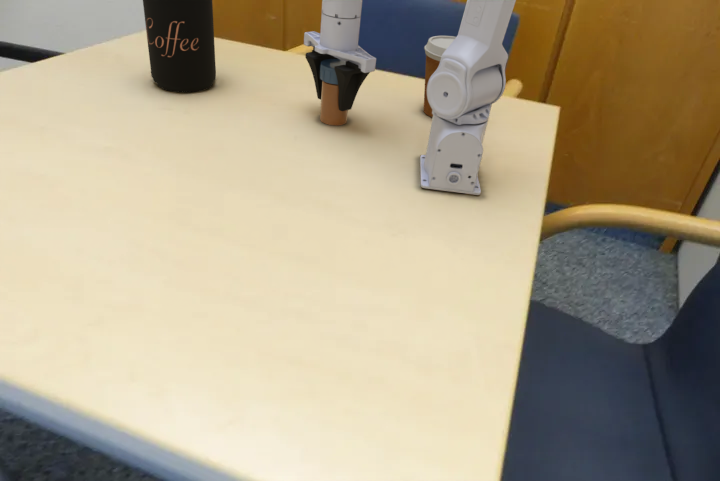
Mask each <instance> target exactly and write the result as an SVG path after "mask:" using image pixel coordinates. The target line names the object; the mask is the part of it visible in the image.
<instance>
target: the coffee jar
mask: <svg viewBox="0 0 720 481" xmlns="http://www.w3.org/2000/svg"><path fill="white" fill-rule="evenodd" d="M142 4H143V14H144V23H145V31H146V41H147V48H148V57H149V67H150V75H151V78H152V80H153V81H154V83H155V84H156V86H157V87H158V88H161V89H162V90H165V91H168V92H172V93H173V92H174V93H188V94H189V93H197V92H202V91H206V90H208V89H210V88H211V87H212V86H213V84H214V82H215V81H216V78H217V72H216V71H217V69H216V68H217V67H216V51H215V50H216V49H215V48H216V47H215V46H216V45H215V29H214V26H215V25H214V8H213V6H214V4H213V0H142Z"/></svg>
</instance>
